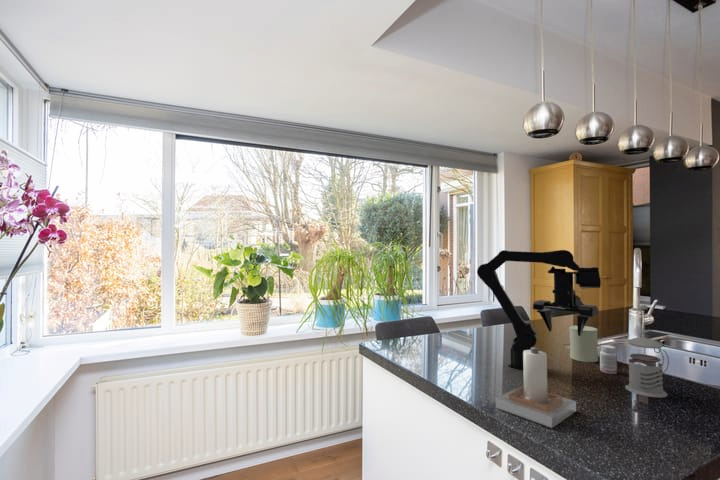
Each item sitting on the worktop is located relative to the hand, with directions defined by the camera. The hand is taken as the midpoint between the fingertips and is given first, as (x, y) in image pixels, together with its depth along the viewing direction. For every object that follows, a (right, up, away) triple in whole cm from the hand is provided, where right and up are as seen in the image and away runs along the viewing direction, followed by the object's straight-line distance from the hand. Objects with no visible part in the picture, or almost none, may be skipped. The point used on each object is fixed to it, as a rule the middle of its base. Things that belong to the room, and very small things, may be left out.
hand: (564, 333), depth 122 cm
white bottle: (-24, -10, -28) cm, 38 cm away
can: (+16, -14, +15) cm, 26 cm away
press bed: (-24, -12, -28) cm, 39 cm away
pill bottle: (+15, -13, 0) cm, 20 cm away
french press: (+15, -13, -16) cm, 26 cm away
